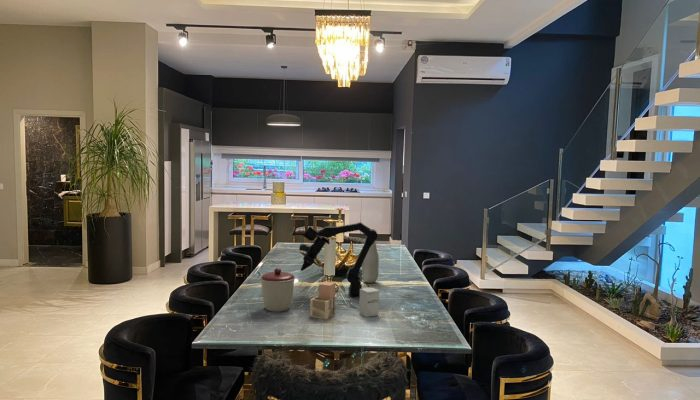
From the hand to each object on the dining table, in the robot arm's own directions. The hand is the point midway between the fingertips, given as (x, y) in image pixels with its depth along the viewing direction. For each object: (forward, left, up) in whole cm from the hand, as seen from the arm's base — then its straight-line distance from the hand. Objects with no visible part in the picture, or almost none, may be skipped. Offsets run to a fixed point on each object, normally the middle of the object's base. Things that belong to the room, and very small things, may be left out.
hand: (302, 268), depth 281 cm
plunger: (-3, +36, -14) cm, 39 cm away
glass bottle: (-47, -13, -15) cm, 51 cm away
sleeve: (+1, +40, -15) cm, 43 cm away
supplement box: (-22, +45, -15) cm, 52 cm away
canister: (+19, +22, -15) cm, 33 cm away
